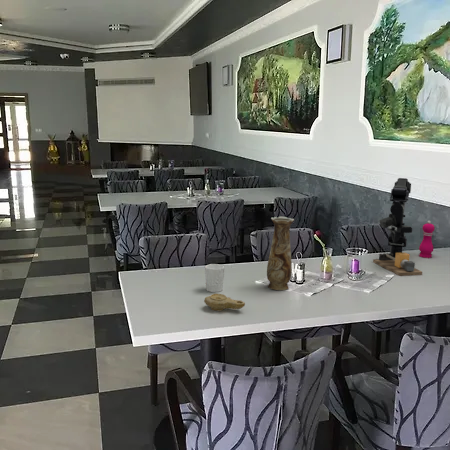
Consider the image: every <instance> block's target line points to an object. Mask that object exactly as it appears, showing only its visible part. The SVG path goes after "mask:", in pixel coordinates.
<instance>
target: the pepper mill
mask: <svg viewBox="0 0 450 450" xmlns="http://www.w3.org/2000/svg"><path fill="white" fill-rule="evenodd" d="M434 231H435V225H434V224H433V223H432V222H431V220H427V223H425V224H423V225H422V235H423V238H422V241H421V243H420V245H419V248H418V250H419V254H418V256H419V257H420V258H424V259H431V258H432V256H433V254H432V253H433V252H434V245H433V242H432V238H433V237H432V236H433V234H434V233H433V232H434Z"/></svg>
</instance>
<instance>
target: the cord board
mask: <svg viewBox="0 0 450 450" xmlns="http://www.w3.org/2000/svg"><path fill="white" fill-rule="evenodd" d="M378 257H379V258H376V259H375V258H374V259H372V262H373V263H374V264H376V265H378V266H379V267H382V268H384V269H385V270H387V271H389V272H390V273H392V274H394V275H396V276H399V277H406V276H410V277H411V276H423V271H421V270H419V269H417V268H415V265H416V262H415V261H412V260H409V261H408V260H406V259H404V260H402V261H401V263H400V266H401V268H398V267H396V266H395V258H394V257H393V254H392V253H390V252H388V253H385V252H383V253H379V256H378Z"/></svg>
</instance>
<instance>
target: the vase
mask: <svg viewBox="0 0 450 450" xmlns="http://www.w3.org/2000/svg"><path fill="white" fill-rule="evenodd" d="M270 219H271V221H272V223H273V226H274V229H273V234H272V235H273V236H272V241H271V245H270V252H269V257H268V261H267V266H266V278H267V280H268V281H269V283H268V285H267V287H268V288H269V289H271V290H276V291H286V290H289V288H290V287H289V285H288V283H289V282H290V281H291V279H292V271H293V265H292V251H291V249H292V248H291V236H290V235H291V233H290V230H291V229H290V228H291V226H292V224H293V222H294V221H295V219H294V218H291V217H286V216H281V215H280V216H278V217H277V216H274V217H271V218H270Z"/></svg>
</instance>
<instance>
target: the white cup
mask: <svg viewBox="0 0 450 450" xmlns="http://www.w3.org/2000/svg"><path fill="white" fill-rule="evenodd" d="M204 267H205V269H204V270H205V271H204V272H205V273H204V274H205V284H206V285H205V288H206V291H207V292H211V293H219V292H222V291H223V287H224V277H225V276H224V275H225V266H224V265H223V264H218V263H210V264H207V265H205V266H204Z"/></svg>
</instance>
